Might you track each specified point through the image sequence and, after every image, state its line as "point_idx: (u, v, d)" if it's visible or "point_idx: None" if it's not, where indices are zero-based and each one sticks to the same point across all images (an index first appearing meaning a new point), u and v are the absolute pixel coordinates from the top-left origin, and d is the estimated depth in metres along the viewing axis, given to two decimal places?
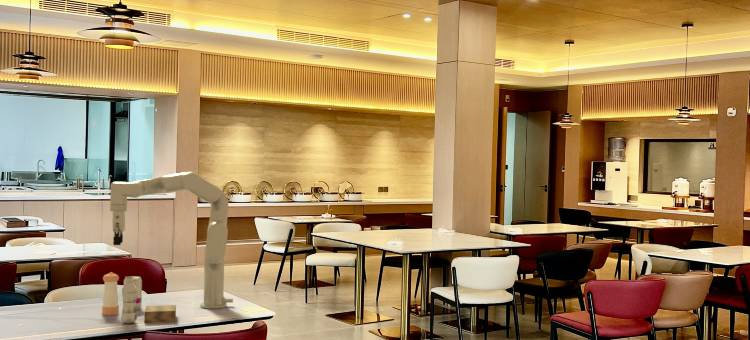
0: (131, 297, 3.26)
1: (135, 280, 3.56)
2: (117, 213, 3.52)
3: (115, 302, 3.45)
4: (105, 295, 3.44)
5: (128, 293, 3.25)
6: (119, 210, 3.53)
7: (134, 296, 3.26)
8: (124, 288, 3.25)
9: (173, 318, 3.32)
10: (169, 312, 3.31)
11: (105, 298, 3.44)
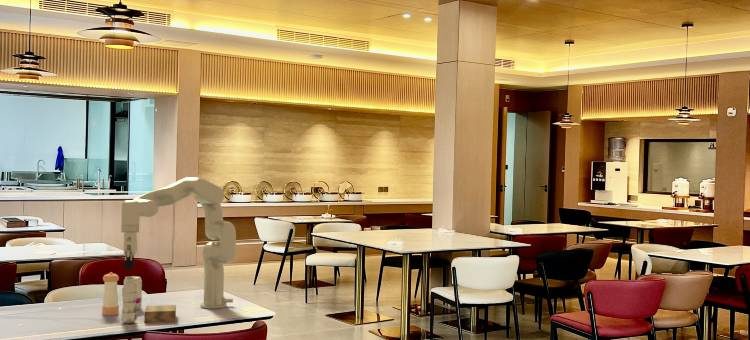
0: (131, 297, 3.26)
1: (135, 280, 3.56)
2: (129, 235, 3.23)
3: (115, 302, 3.45)
4: (105, 295, 3.44)
5: (128, 293, 3.25)
6: (131, 231, 3.24)
7: (134, 296, 3.26)
8: (124, 288, 3.25)
9: (173, 318, 3.32)
10: (169, 312, 3.31)
11: (105, 298, 3.44)
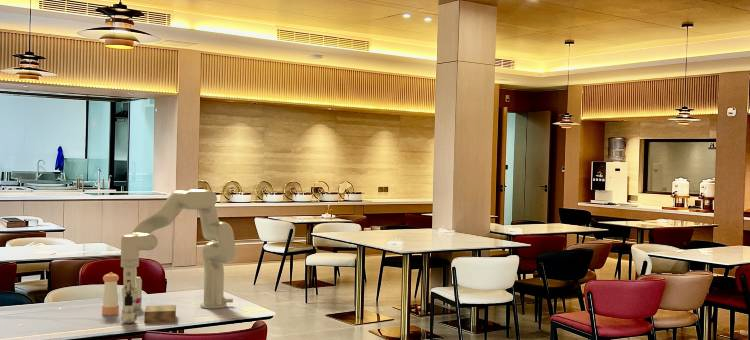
0: None
1: None
2: (128, 269, 3.23)
3: (115, 302, 3.45)
4: (105, 295, 3.44)
5: None
6: (130, 266, 3.24)
7: (134, 296, 3.26)
8: None
9: (173, 318, 3.32)
10: (169, 312, 3.31)
11: (105, 298, 3.44)
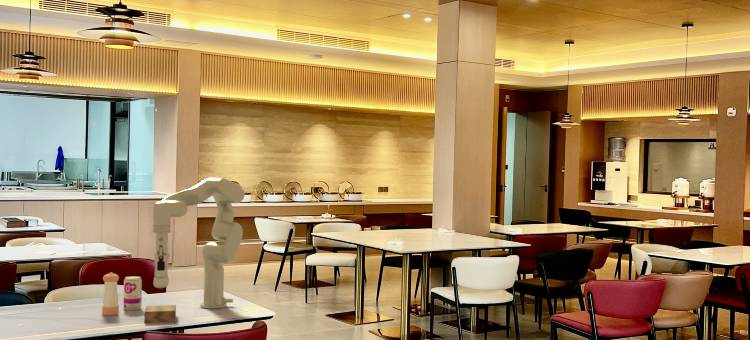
0: None
1: (135, 280, 3.56)
2: (161, 235, 3.32)
3: (115, 302, 3.45)
4: (105, 295, 3.44)
5: None
6: (163, 232, 3.33)
7: (166, 261, 3.35)
8: None
9: (173, 318, 3.32)
10: (169, 312, 3.31)
11: (105, 298, 3.44)
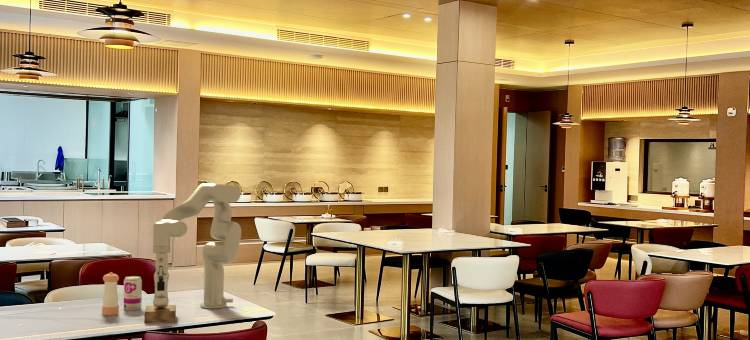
0: None
1: (135, 280, 3.56)
2: (161, 255, 3.32)
3: (115, 302, 3.45)
4: (105, 295, 3.44)
5: None
6: (163, 252, 3.33)
7: (166, 281, 3.35)
8: None
9: (173, 318, 3.32)
10: (169, 312, 3.31)
11: (105, 298, 3.44)
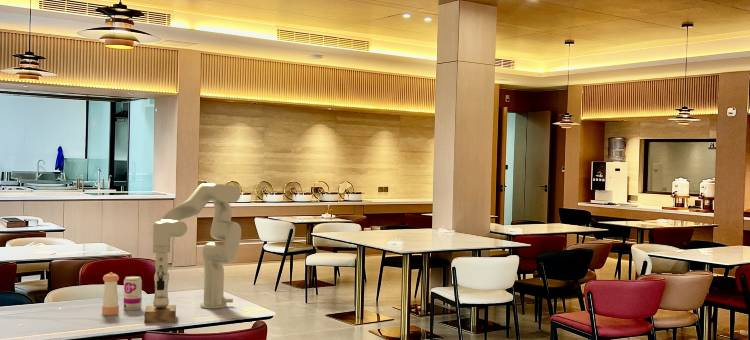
0: None
1: (135, 280, 3.56)
2: (160, 255, 3.32)
3: (115, 302, 3.45)
4: (105, 295, 3.44)
5: None
6: (162, 252, 3.33)
7: (166, 282, 3.35)
8: None
9: (173, 318, 3.32)
10: (169, 312, 3.31)
11: (105, 298, 3.44)
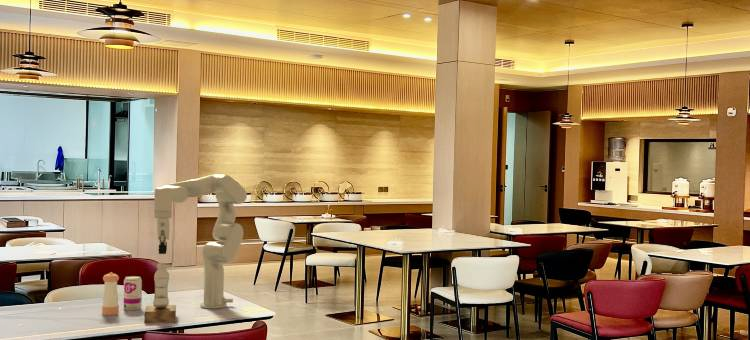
0: (163, 283, 3.34)
1: (135, 280, 3.56)
2: (162, 220, 3.33)
3: (115, 302, 3.45)
4: (105, 295, 3.44)
5: (160, 279, 3.34)
6: (164, 217, 3.34)
7: (166, 282, 3.35)
8: (156, 274, 3.34)
9: (173, 318, 3.32)
10: (169, 312, 3.31)
11: (105, 298, 3.44)
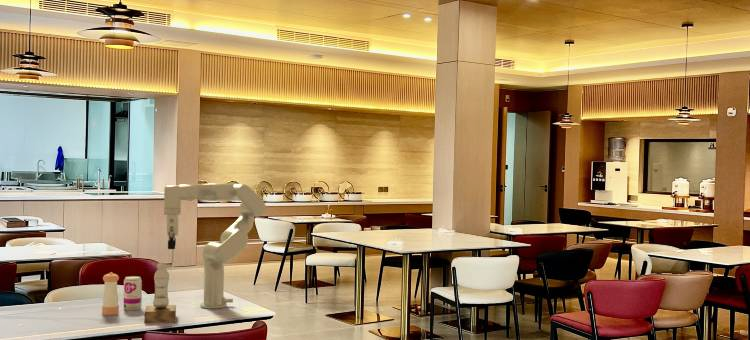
0: (163, 283, 3.34)
1: (135, 280, 3.56)
2: (171, 217, 3.48)
3: (115, 302, 3.45)
4: (105, 295, 3.44)
5: (160, 279, 3.34)
6: (173, 214, 3.49)
7: (166, 282, 3.35)
8: (156, 274, 3.34)
9: (173, 318, 3.32)
10: (169, 312, 3.31)
11: (105, 298, 3.44)
